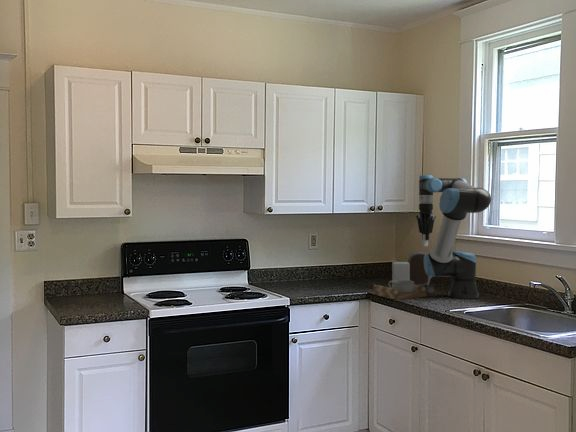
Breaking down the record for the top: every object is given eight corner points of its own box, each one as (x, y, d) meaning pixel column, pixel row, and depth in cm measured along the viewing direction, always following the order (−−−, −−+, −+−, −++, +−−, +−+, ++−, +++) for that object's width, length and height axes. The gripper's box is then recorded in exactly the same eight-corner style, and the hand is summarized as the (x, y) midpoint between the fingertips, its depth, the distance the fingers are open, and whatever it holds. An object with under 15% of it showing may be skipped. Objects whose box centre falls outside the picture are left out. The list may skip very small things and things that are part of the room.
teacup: (418, 296, 323) (418, 281, 322) (405, 299, 315) (405, 283, 315) (396, 293, 333) (396, 278, 332) (383, 295, 325) (383, 280, 325)
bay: (440, 296, 325) (440, 279, 325) (399, 300, 311) (399, 282, 311) (412, 290, 343) (413, 274, 343) (373, 294, 329) (373, 277, 329)
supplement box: (408, 288, 350) (408, 261, 350) (409, 290, 341) (410, 263, 341) (391, 288, 351) (392, 261, 351) (392, 290, 342) (393, 263, 342)
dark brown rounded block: (405, 286, 359) (406, 251, 358) (406, 283, 367) (406, 249, 366) (432, 287, 355) (433, 251, 355) (432, 284, 364) (432, 250, 363)
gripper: (412, 202, 346) (412, 245, 347) (429, 203, 335) (428, 247, 336) (422, 202, 350) (422, 244, 351) (439, 203, 339) (438, 246, 340)
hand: (425, 246), depth 344 cm, fingers closed
